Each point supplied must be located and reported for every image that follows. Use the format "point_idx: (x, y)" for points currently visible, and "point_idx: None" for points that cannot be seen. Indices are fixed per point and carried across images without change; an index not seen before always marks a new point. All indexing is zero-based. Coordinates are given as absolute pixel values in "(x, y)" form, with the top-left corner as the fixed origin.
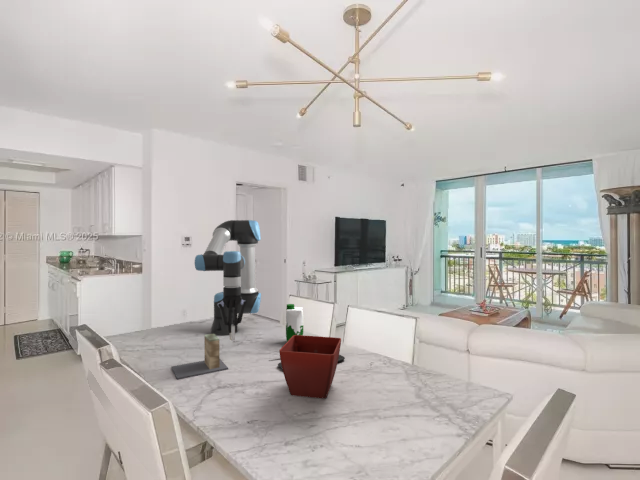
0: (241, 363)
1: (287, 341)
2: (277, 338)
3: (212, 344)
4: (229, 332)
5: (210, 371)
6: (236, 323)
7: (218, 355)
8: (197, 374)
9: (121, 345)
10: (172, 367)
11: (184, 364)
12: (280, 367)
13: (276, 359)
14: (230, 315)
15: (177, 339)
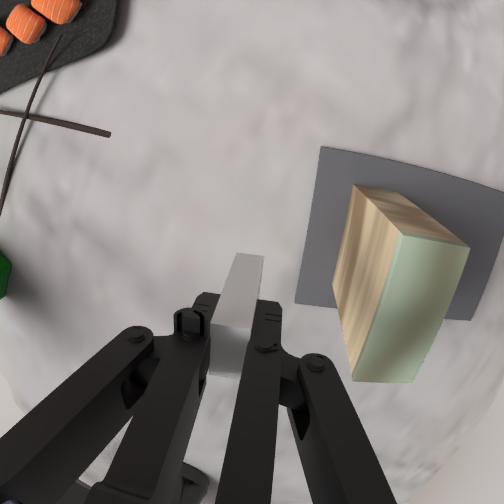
0: (230, 178)
1: (1, 267)
2: (30, 340)
3: (438, 231)
4: (272, 304)
5: (407, 164)
6: (184, 333)
7: (373, 200)
8: (455, 177)
9: (418, 490)
10: (474, 309)
11: None
12: (117, 7)
13: (79, 124)
14: (246, 441)
15: (308, 490)
